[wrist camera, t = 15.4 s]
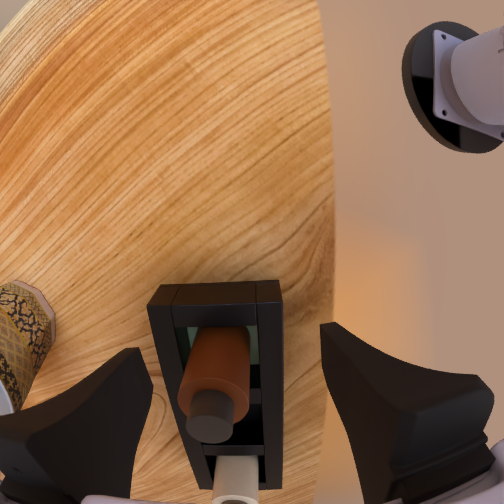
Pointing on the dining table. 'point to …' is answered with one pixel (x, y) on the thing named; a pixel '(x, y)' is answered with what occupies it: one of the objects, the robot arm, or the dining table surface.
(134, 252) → the dining table surface
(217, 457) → the cream bottle
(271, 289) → the holder
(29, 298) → the ceramic cup
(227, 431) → the spice bottle
